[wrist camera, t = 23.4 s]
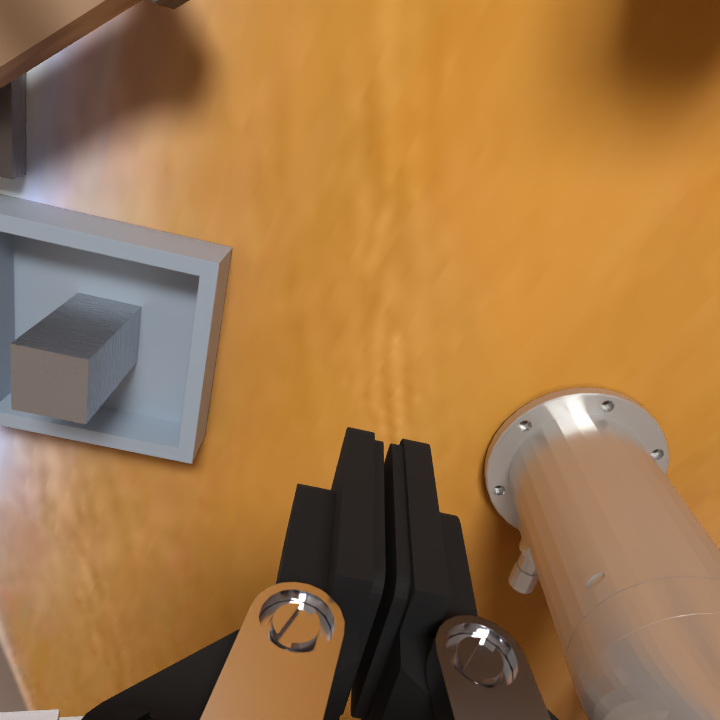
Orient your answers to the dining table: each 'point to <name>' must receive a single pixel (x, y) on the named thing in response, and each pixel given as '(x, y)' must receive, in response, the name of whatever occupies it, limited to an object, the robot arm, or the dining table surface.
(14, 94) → the stand
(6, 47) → the crank
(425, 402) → the dining table surface
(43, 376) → the block
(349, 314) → the dining table surface
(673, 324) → the dining table surface
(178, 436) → the tray
